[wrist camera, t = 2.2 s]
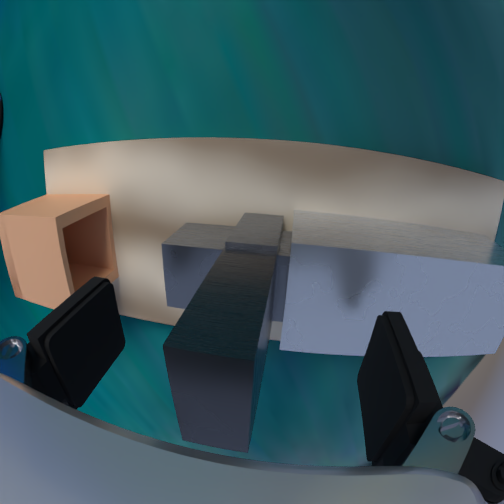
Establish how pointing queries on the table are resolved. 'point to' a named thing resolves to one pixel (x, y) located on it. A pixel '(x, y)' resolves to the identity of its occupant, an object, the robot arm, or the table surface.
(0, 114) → the aerosol can
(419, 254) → the pale blue rectangular box
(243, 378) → the grey bar
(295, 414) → the table surface
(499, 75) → the table surface
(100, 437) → the robot arm
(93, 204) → the socket
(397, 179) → the base board
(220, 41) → the table surface
